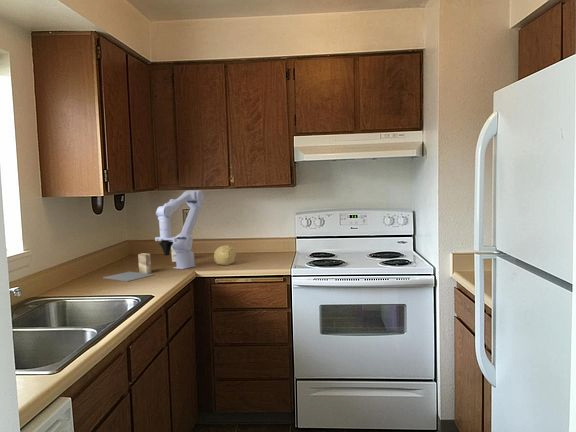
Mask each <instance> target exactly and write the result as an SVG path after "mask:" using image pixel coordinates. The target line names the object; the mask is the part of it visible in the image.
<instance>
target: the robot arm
mask: <svg viewBox="0 0 576 432" xmlns="http://www.w3.org/2000/svg"><path fill="white" fill-rule="evenodd" d="M204 200H205V196H204V192H203V191H202V189H197V190H196V189H195V190H192V189H191V190H189V189H188V190H185V191H183V193H181V195H180V196H178V198H176V199H174V198H171V199H169V201H167V202H166V203H164V204H162V205H160V206H158V207H157V209H156V211H155V215H156V216H157V220H158V226H159V236H156V237H154V241H155V242H158V243H159V246H160V247H161V249H162V251H163V255H164V256H166V257H167V256H170V253H171V246H172V248H173V249H174V250H175V252H176V262H175V263H176V264H175V265H176V266H173V267H172V268H173V269H176V270H177V269H178V270H179V269H180V270H187V269H189V268H194V267H196V266H197V265H195V263H196V262H195V254H194V252H193V251H192V248H193V243H194V242H193V241H194V239H193V237H192V233H193V231H194V228H195V225H196V223H197V220H198V217H199V215H200V211H201V209H202V205H203V203H204ZM184 203H186V205H187V206H188V207H189V208H190V209H189V210H188V214H187V217H186V219H185V221H184V223H183V226H182V230H181V232H180V233H179V234H177V235H176V236H172V227H171V226H172V225H171V217H172V216H173V213H174V212H175V211H177V210H178V209H179V208H180V205H182V204H184ZM174 237H176V238H174Z"/></svg>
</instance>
